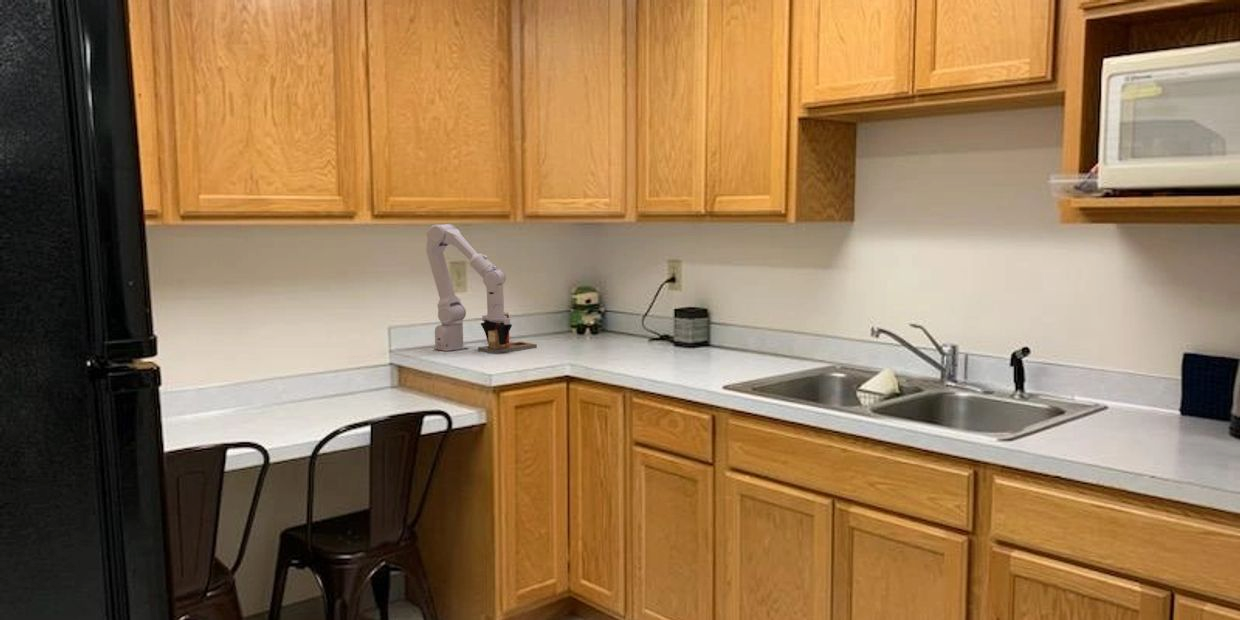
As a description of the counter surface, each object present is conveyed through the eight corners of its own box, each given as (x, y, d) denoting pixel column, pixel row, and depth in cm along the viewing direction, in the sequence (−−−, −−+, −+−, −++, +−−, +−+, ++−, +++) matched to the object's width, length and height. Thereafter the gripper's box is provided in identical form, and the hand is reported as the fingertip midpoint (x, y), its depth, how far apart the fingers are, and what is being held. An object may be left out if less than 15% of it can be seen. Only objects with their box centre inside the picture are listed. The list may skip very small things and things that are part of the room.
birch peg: (495, 352, 313) (494, 332, 312) (488, 350, 316) (488, 330, 316) (504, 350, 316) (504, 330, 315) (498, 349, 319) (497, 329, 318)
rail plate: (493, 353, 309) (493, 350, 309) (478, 350, 317) (477, 346, 317) (536, 347, 321) (536, 344, 321) (520, 344, 329) (520, 341, 329)
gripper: (516, 305, 311) (518, 344, 313) (493, 302, 322) (495, 339, 324) (499, 306, 307) (501, 346, 308) (476, 303, 318) (478, 342, 319)
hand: (496, 343), depth 316 cm, fingers open, 7 cm apart
